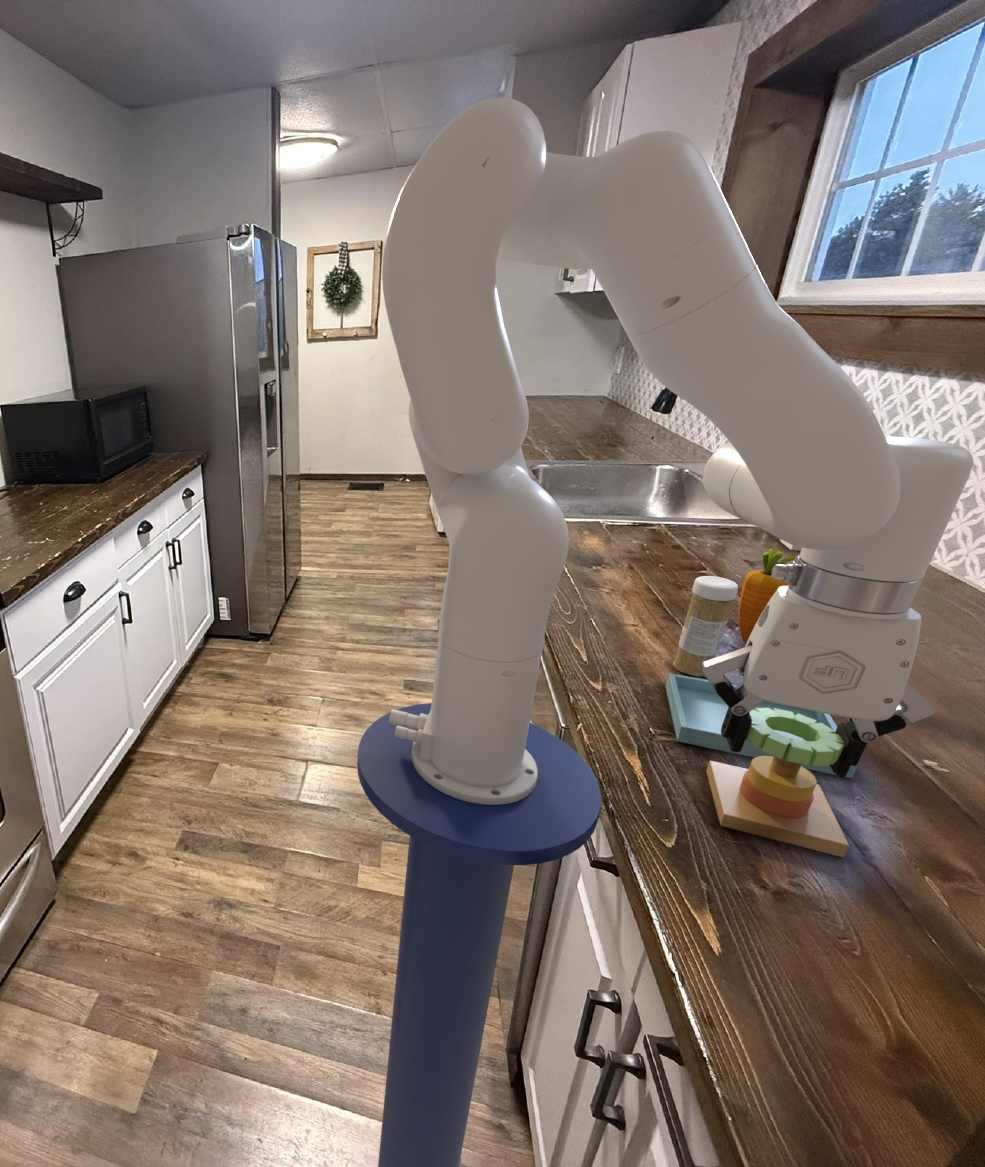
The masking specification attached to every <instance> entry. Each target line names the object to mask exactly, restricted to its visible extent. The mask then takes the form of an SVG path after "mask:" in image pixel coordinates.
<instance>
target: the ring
mask: <svg viewBox="0 0 985 1167" xmlns="http://www.w3.org/2000/svg"><path fill="white" fill-rule="evenodd" d="M749 714H750V716H751V719H752V723H751V726H750V728H749V731H748V734H747V736H746V740H747V741H748V742H750V743H751V744H752V745H754V746H755V747H756V748H763V749H762V751H764V752H766V753H768V754H770V755H773V756H775V757H777V758H780V759H782V758H783V757H785V758H786V760H787V761H789V762H794V763H798V764H803V765H808V764H810V765H812V766H829V765H830V764H831V765H833V764H834V763H835V762H836V761H837V760H838V759H839V757H840V755H841V753H842V750H843V748H844V745H843V744H844V742H843V741H842V739H841V737H840V736H839V734H836V731H834V730H832V729H831V728H829V727H828V726H826V725H825V724H823V723H817V720H814V719H812V718H809V717H806V716H804V715H801V714H797V715H794V713H793V712H791V711H786V710H781V709H776V708H774V709H773V710H772V709H770V708H754V710H751V711H750V713H749ZM774 730H777V731H782V732H787V733H790V734H793V735H795V736H798V737H800V738H803V739H804V740H806V742H805V741H801V740H796V739H791V738H789V737H786V736H784V735H781V734H779V733H777V732H775V731H774Z"/></svg>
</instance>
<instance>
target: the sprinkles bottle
mask: <svg viewBox="0 0 985 1167" xmlns="http://www.w3.org/2000/svg"><path fill="white" fill-rule="evenodd" d="M738 590H739V585H738V584H737V583H736V582H735V581H734V580H731V579H728V578H726V577H721V576H714V575H702V576H698V577H696V578H695V579H694V582H693V585H692V589H691V592H692V593H691V594H692V596H691V599H690V602H689V606H688V610H687V613H686V617H685V620H684V623H683V626H682V630H681V634H680V637H679V641H678V647H677V651H676V654H675V658H674V660H673V662H672V666H673V667H674V668H675V670H677V671H679V672H681V673H683V674H685V675H688V676H691V677H698V678H701V677H704V678H706V677H705V675H704V674H703V672H702V669H701V666H700V665H701V663H702V662H704V661H707V660H710V659H713V658H715V657H717V655H718V654H719V650H720V647H721V644H722V640H723V636H724V634H725V631H726V627H727V623H728V621H729V620H728V619H729V615H730V611H731V608H732V604H733V602H734V600H735V599H736V597H737V594H738Z"/></svg>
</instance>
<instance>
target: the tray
mask: <svg viewBox="0 0 985 1167" xmlns="http://www.w3.org/2000/svg"><path fill="white" fill-rule="evenodd" d="M731 685H732V686H733V687H734V688H735V687H737V686H738V685H739V684H733V683H731ZM665 690H666V695H667V700H668V704H669V705H668V706H669V709H670V714H671V718H672V723H673V729H674V732H675V738H676V742H679V743H685V744H689V745H693V746H696V747H697V746H698V747H702V748H706V749H707V748H708V749H712V750H717V751H721V752H727V753H731V754H736V755H741V756H744V757H750V758H752V759H754V758H756V757H759V756H772V757H774V756H773V755H770V754H768V753H766V752H764V751H762V749H763V748H756V747H755V746H754V745H752V744H751V743H750V742H748V741H747V740H746V739H745V742H744V744H743V747H742V750H741V752H738V753H737V752H733V751H730V748H729V745H728V742H727V739H726V738H725V737H722V735H721V727H722V724H723V721H724V718H725V716H726V713H727V710H728V707H729V706H728V705H727V704H726V703H725V702H724V701H723V700H722V698H721V697H720V696H719V695H718V694H717V693H716V690H715V689H714V688H713V686H712V685H711V684H710V682H709V681H708V680H707V679H706V678H705V679H704V678H701V677H695V676H689V675H688V676H687V675H682V674H676V673H675V674H674V673H668V676H667V680H666V684H665ZM755 708H770V709H772V710H773V709H774V708H776V709H781V710H786V711H791V712H793V713H794V715H797V714H801V715H804V716H806V717H809V718H812V719H814V720H817V723H823V724H825V725H826V726H828V727H829V728H831V729H832V730H834V731H836V729H837V727H838V725H837V724H836V722H835V721H834V718H833V717H832V715H831V714H825V713H820V712H815V711H810V710H805V709H800V708H795V707H790V706H785V705H780V704H775V703H771V702H767V701H764V702H762V703H761V704H760V705H758V706H757V707H755ZM753 710H754V709H753ZM774 731H775V732H777V733H779V734H781V735H784V736H786V737H789V738H791V739H796V740H801V741H805V742H806V740H804V739H803V738H800V737H798V736H795V735H793V734H790V733H787V732H782V731H777V730H774ZM859 764H860V761H859V762H858V764H857V765H856V766H850V768H849V771H848V773H847V775H846V777H845V778H848V779H854V775H855V773H856V772H857V768H858V767H859ZM801 766H802V767H804V768H805V769H807V770H809V771H815V772H820V773H824V774H829V775H832V776H833V775H834V776H837V775H836V774H835V773H833V771H832V769H831V767H830V765H829V766H812V765H810V764H808V765H803V764H802V765H801Z"/></svg>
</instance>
